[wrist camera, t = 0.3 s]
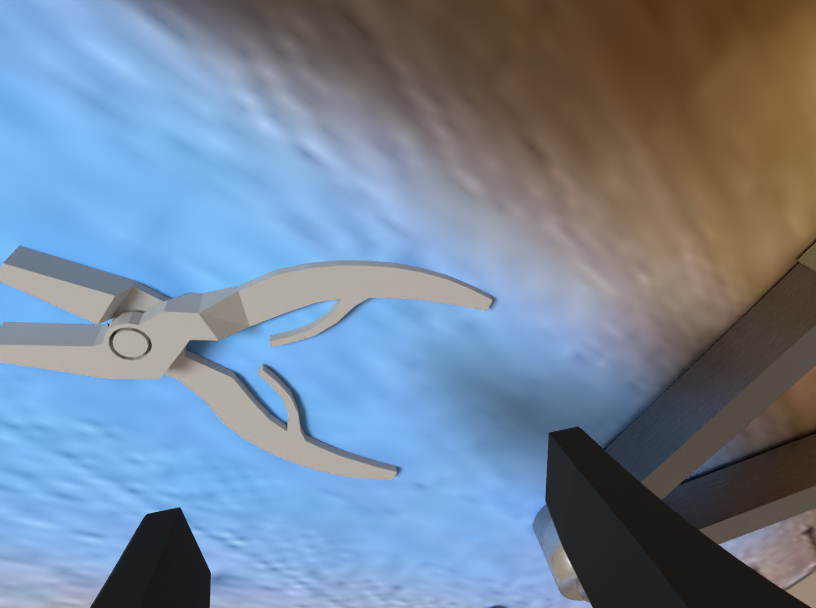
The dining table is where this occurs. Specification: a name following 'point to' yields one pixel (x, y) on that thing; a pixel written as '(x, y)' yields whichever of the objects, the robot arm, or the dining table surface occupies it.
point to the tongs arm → (726, 385)
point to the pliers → (208, 335)
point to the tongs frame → (717, 503)
